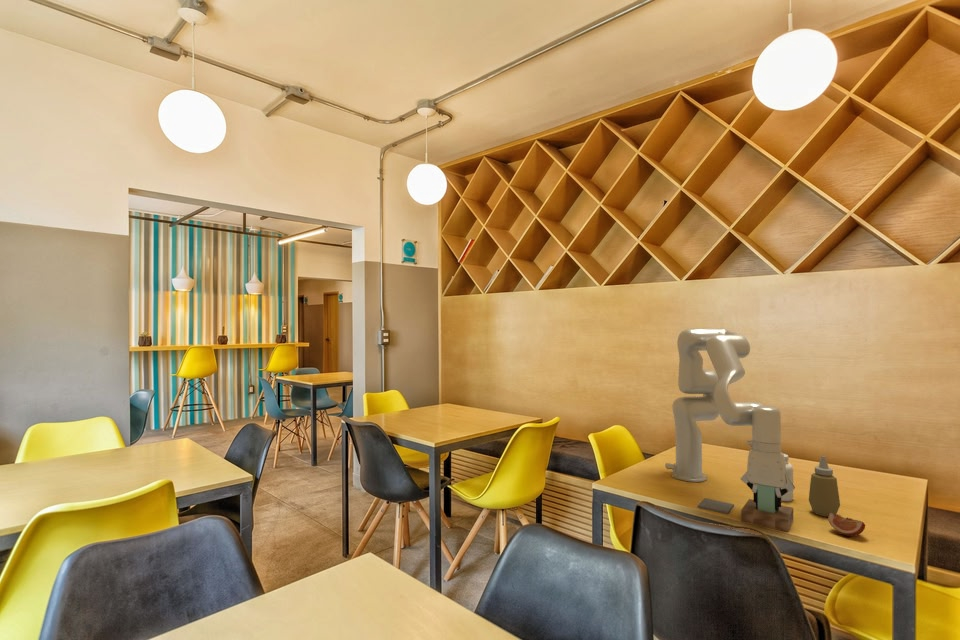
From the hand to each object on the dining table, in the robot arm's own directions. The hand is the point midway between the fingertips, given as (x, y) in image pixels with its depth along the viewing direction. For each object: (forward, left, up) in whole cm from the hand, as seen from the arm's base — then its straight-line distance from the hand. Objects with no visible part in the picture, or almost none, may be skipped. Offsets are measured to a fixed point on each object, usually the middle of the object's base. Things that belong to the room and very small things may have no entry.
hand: (767, 506), depth 144 cm
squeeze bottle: (+13, +17, -4) cm, 22 cm away
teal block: (0, 0, -4) cm, 4 cm away
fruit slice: (+19, +3, -4) cm, 20 cm away
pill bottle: (0, +25, -4) cm, 25 cm away
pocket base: (0, 0, -4) cm, 4 cm away
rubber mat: (-15, +2, -4) cm, 16 cm away
